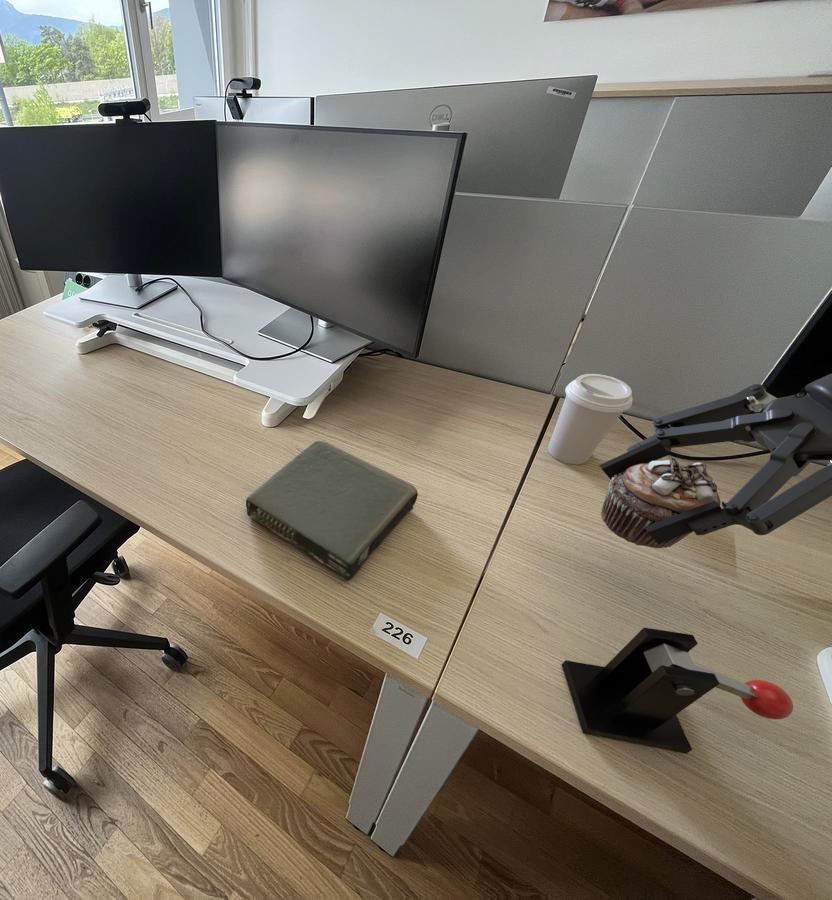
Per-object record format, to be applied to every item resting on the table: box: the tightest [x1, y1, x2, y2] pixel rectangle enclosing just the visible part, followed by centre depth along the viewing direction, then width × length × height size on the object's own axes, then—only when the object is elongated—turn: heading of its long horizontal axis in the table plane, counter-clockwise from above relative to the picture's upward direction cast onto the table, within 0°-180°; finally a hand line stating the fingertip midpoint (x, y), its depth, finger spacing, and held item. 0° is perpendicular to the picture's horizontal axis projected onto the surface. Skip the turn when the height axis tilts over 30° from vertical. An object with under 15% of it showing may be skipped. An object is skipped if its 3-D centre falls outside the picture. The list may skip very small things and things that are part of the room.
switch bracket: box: [561, 627, 720, 754], centre depth 50 cm, size 10×8×13 cm
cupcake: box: [600, 457, 721, 549], centre depth 55 cm, size 10×10×10 cm
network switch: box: [245, 440, 419, 581], centre depth 79 cm, size 23×24×5 cm
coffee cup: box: [547, 373, 633, 465], centre depth 83 cm, size 10×10×15 cm
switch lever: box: [643, 643, 794, 720], centre depth 47 cm, size 14×4×4 cm, turn 78°
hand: (626, 502), depth 56 cm, fingers closed on cupcake, 10 cm apart
